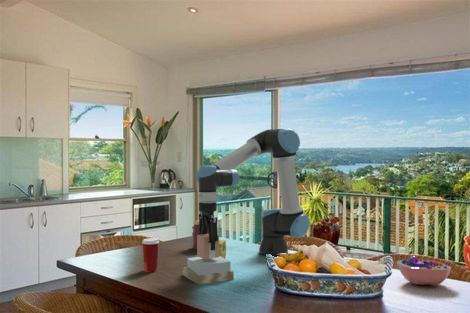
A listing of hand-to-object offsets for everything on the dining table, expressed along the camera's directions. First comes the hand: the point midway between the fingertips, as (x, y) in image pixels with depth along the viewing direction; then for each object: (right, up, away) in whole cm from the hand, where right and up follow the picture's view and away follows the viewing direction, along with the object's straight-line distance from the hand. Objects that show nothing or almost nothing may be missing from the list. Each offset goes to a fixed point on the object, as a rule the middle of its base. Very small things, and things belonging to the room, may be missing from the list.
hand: (208, 255), depth 193 cm
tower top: (0, -6, 0) cm, 6 cm away
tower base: (0, -10, 0) cm, 10 cm away
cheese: (+1, -9, +26) cm, 27 cm away
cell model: (+86, -9, -12) cm, 88 cm away
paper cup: (-26, -9, +11) cm, 30 cm away
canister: (-6, -9, +56) cm, 57 cm away
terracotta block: (0, 0, 0) cm, 0 cm away
